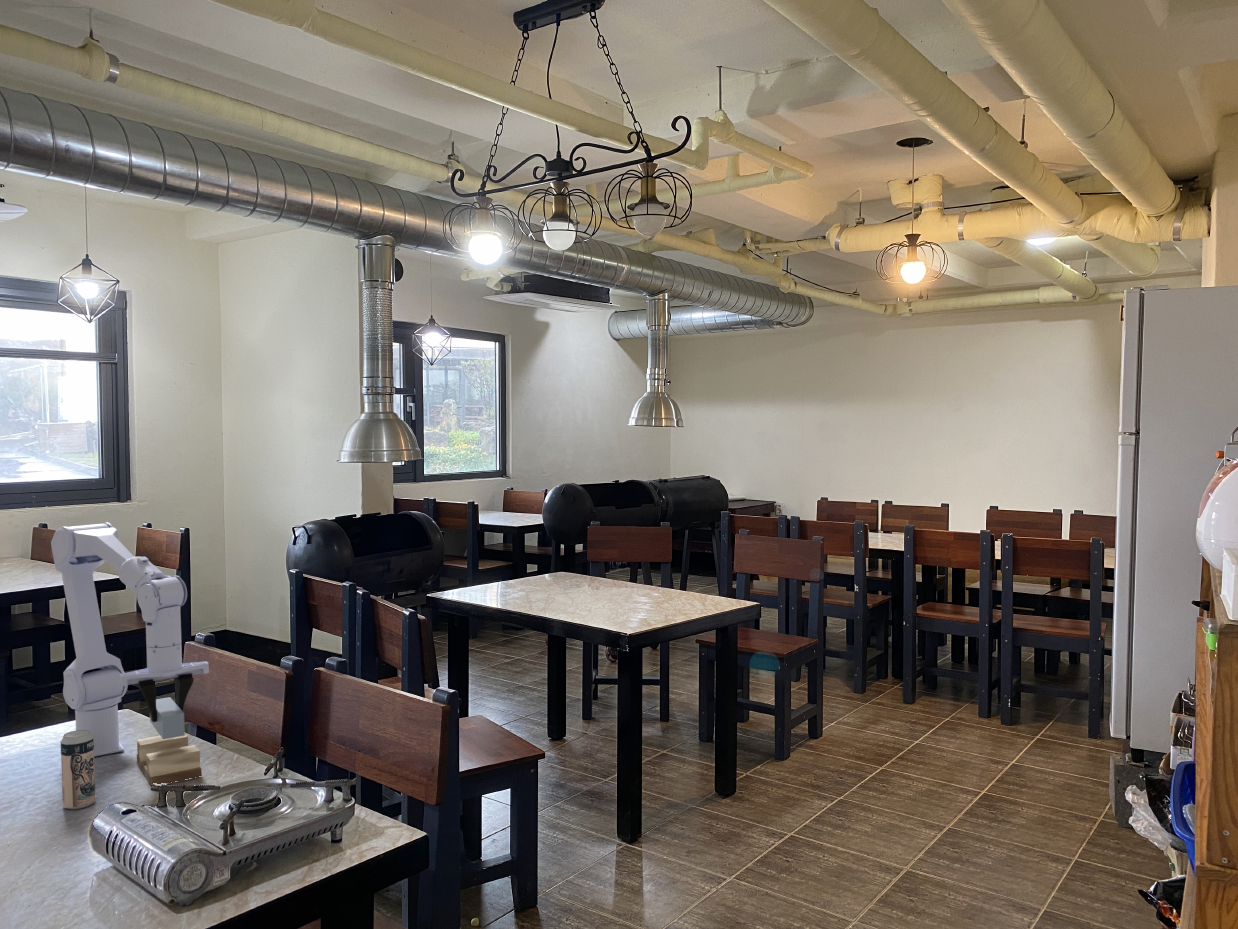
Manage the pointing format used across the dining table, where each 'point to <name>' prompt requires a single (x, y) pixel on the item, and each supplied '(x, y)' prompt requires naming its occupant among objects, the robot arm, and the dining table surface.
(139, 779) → the dining table surface
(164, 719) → the grey rectangular block
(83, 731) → the tea canister
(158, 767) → the display stand
